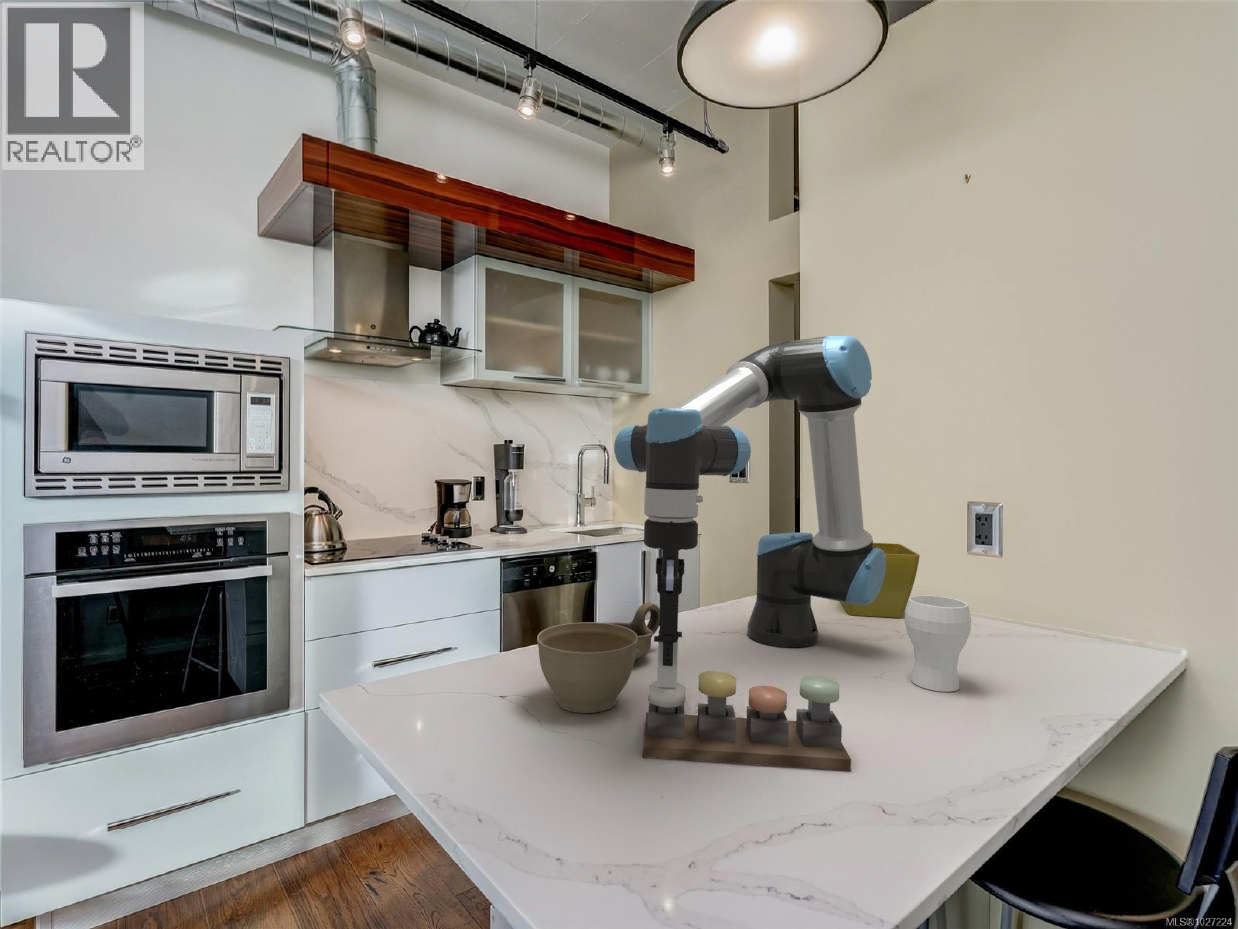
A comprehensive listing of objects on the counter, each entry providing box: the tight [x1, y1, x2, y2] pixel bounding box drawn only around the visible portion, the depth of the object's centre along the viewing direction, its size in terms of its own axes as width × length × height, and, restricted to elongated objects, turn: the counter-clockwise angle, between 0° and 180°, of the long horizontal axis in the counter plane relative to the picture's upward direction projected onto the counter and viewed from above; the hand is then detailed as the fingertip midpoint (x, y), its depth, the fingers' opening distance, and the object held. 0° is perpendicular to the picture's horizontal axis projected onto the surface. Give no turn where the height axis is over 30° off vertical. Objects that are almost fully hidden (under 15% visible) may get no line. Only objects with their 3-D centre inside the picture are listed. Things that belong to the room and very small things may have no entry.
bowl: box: [607, 602, 660, 660], centre depth 125 cm, size 14×18×10 cm
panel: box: [642, 702, 852, 771], centre depth 89 cm, size 27×11×4 cm, turn 85°
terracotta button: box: [748, 685, 788, 719], centre depth 89 cm, size 5×5×5 cm
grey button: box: [647, 680, 686, 713], centre depth 90 cm, size 5×5×5 cm
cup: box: [904, 594, 972, 693], centre depth 114 cm, size 11×11×15 cm
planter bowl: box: [536, 621, 638, 714], centre depth 103 cm, size 16×16×11 cm
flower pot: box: [839, 542, 920, 619], centre depth 166 cm, size 19×19×17 cm
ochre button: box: [698, 670, 737, 716], centre depth 89 cm, size 5×5×5 cm
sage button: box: [799, 675, 841, 722], centre depth 88 cm, size 5×5×5 cm
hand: (666, 685), depth 90 cm, fingers closed
